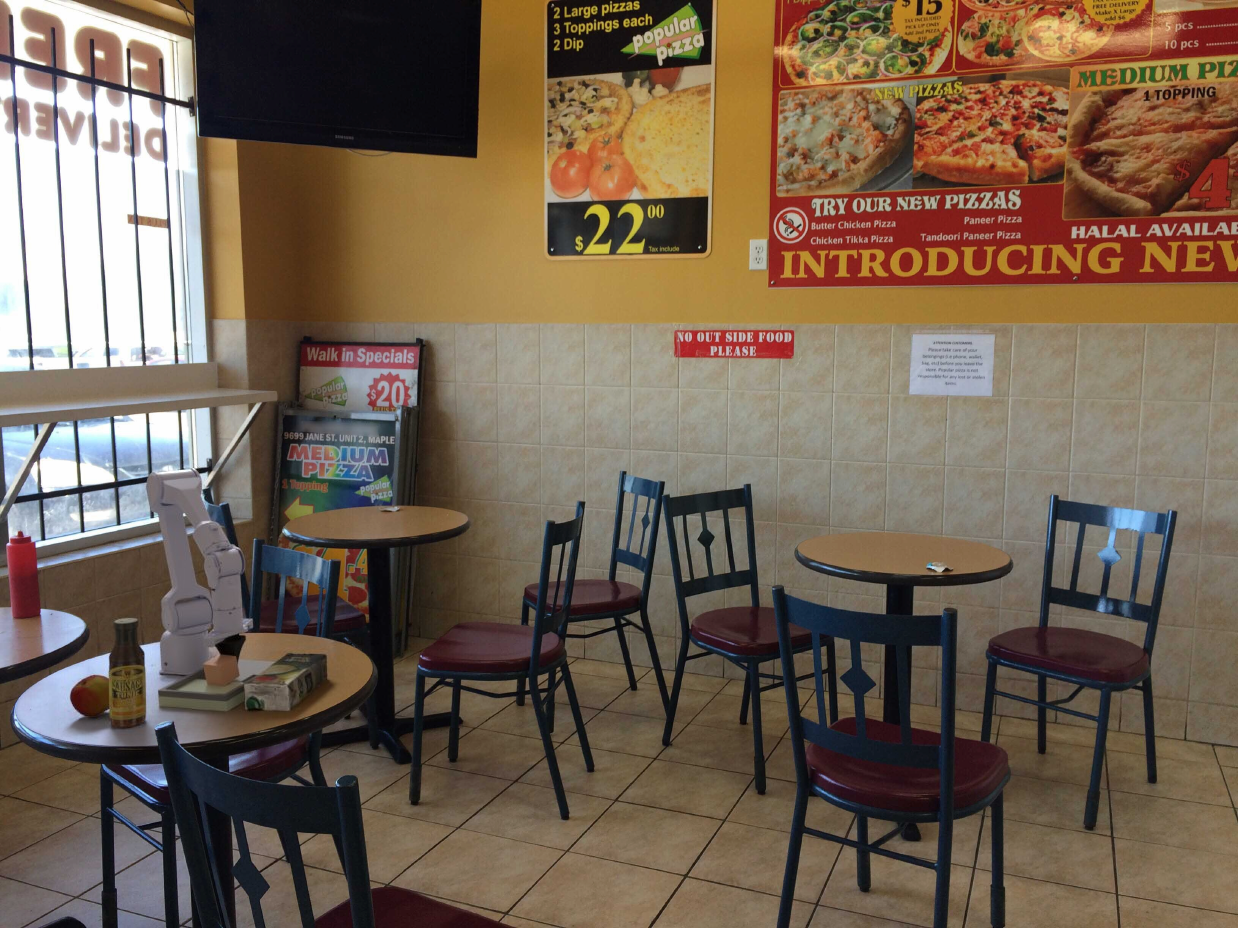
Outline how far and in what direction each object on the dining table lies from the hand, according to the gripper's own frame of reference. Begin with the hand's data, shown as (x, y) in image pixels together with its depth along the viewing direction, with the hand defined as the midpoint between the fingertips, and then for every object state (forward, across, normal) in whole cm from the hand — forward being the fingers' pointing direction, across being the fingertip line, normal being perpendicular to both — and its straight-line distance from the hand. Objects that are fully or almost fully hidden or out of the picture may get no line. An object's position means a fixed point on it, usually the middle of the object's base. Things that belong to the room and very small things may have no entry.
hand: (231, 671), depth 206 cm
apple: (+3, -20, +16) cm, 26 cm away
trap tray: (+3, -1, 0) cm, 3 cm away
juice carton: (+4, -1, -13) cm, 14 cm away
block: (+1, -2, 0) cm, 3 cm away
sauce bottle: (+4, -22, +8) cm, 23 cm away
